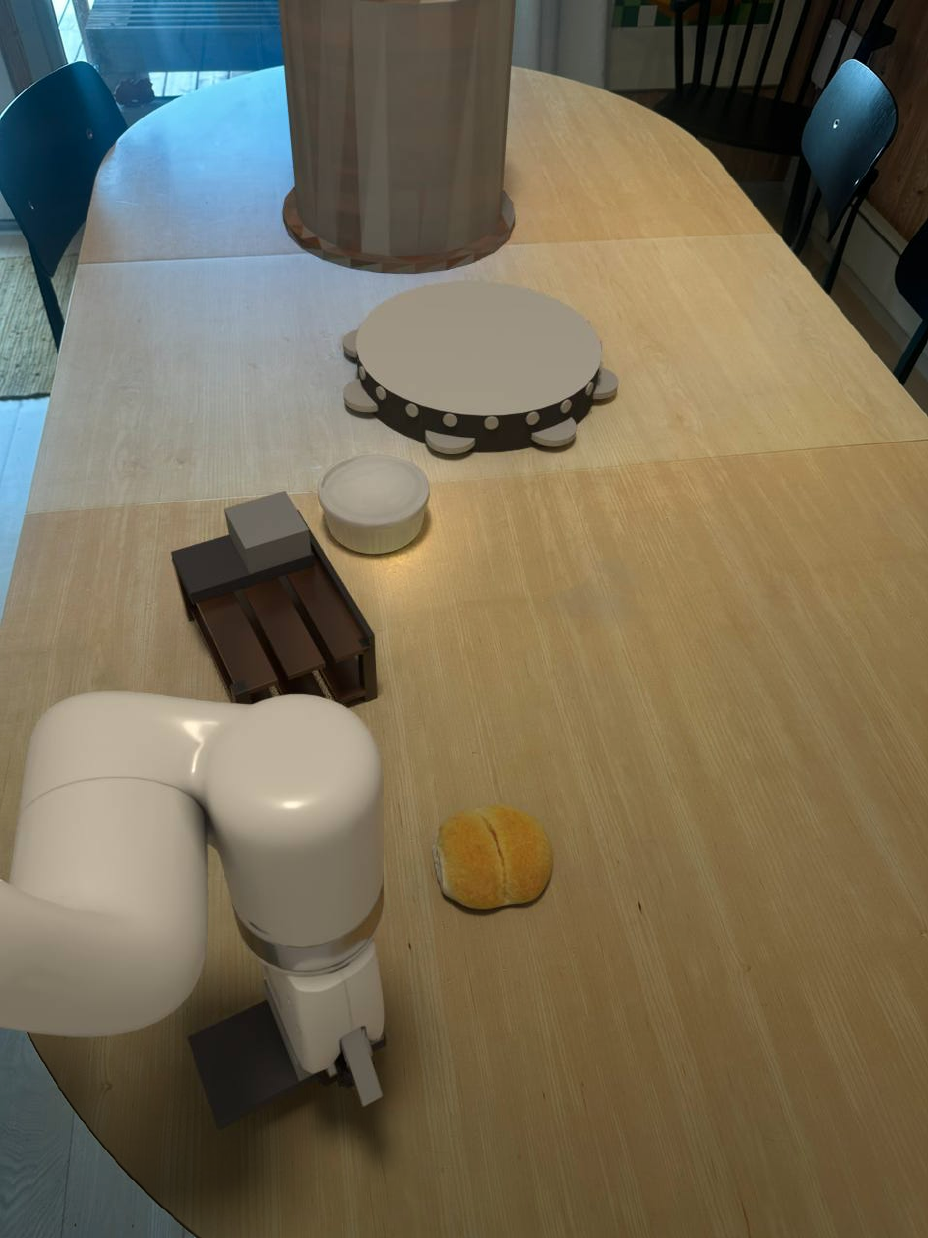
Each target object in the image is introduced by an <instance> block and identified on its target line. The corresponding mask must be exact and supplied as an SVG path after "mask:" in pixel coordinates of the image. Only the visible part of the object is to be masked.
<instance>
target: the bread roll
mask: <svg viewBox="0 0 928 1238" xmlns="http://www.w3.org/2000/svg"><path fill="white" fill-rule="evenodd" d="M432 853H433V860H434V869H435V872H436V876H437V879H438V882H439V884H440V885H439V886H440V890H441V892H442V893H443V895H444V896H446V897H447V898H449V899H451V900H453V901H455V902H457V903H458V904H460V905H462V906H464V907H467V908H470V909H476V910H492V909H495V908H500V907H504V906H508V905H519V904H520V905H521V904H525V903H526V904H527V903H529V902H532V901H533V900H536V899H537V898H538V897H539V896H540V894H541V893H542V892H543V890H544V889H545V888H546V886H547V884H548V882H549V879H550V878H551V874H552V870H553V866H554V850H553V845H552V841H551V839H550V836H549V834H548V832H547V831H546V829H545V828H544V826H543V825H542V824H541V822H540V821H539V820H538V819H536V818H535V817H534V816H532V814H530V813H528V812H527V811H524V810H522V809H520V808H517V807H514V806H510V805H507V804H499V803H498V804H496V803H495V804H488V805H484V806H479V807H475V808H472V809H466V810H461V811H458V812H456V813H454V814H453V815H451V816H450V817H448V818H447V819H445V820H444V821H443V822H442V824H440V826H439V829H438V830H437V832H436V836H435V840H434V842H433V846H432Z"/></svg>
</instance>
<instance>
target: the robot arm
mask: <svg viewBox="0 0 928 1238" xmlns="http://www.w3.org/2000/svg"><path fill="white" fill-rule="evenodd" d="M326 698H327V697H326ZM326 698H323V697H319V696H314V695H307V694H289V695H275V696H273V697H272V698H269V699H265V700H262V701H260V702H257V703H255V704H237V703H233V702H225V701H215V700H214V701H213V700H204V699H197V698H191V697H190V698H189V697H180V696H173V695H166V694H158V693H152V692H151V693H150V692H142V691H130V690H98V691H97V690H96V691H87V692H83V693H79V694H75V695H71V696H68V697H65V698H64V699H61V700H60V701H58V702H56V703H55V704H52V706H50V707H49V708H48V709H47V710H46V711H45V712H44V713H43V714H42V715H41V716H40V718H38V720H37V722H36V724H35V725H34V728H33V730H32V733H31V735H30V738H29V743H28V747H27V751H26V757H25V763H24V770H23V773H24V774H23V779H22V785H21V795H20V802H19V803H20V804H19V810H18V819H17V822H16V828H15V835H14V843H13V844H14V845H13V850H12V858H11V866H10V873H9V881H8V882H6V881H5V880H4V879H1V878H0V1028H2V1029H7V1030H13V1031H19V1032H26V1033H30V1034H38V1035H49V1036H60V1037H68V1038H69V1037H71V1038H101V1037H102V1038H103V1037H110V1036H117V1035H123V1034H127V1033H132V1032H137V1031H139V1030H142V1029H144V1028H147V1027H149V1026H151V1025H154V1024H156V1023H159V1022H161V1021H162V1020H163V1019H165V1018H167V1017H168V1016H169V1015H171V1014H172V1013H174V1012H175V1011H177V1010H178V1009H179V1008H180V1007H181V1006H182V1004H184V1002H185V1001H186V1000H187V999H188V998H189V996H190V995H191V994H192V993H193V991H194V989H195V987H196V985H197V983H198V982H199V979H200V977H201V975H202V973H203V969H204V965H205V963H206V956H207V949H208V932H209V858H208V857H209V856H208V855H209V854H208V853H209V852H208V851H209V849H208V845H209V846H211V847H212V848H213V849H214V850H216V852H217V854H218V856H219V859H220V863H221V867H222V871H223V874H224V877H225V882H226V886H227V890H228V894H229V899H230V902H231V906H232V910H233V915H234V918H235V922H236V927H237V931H238V934H239V937H240V939H241V941H242V942H243V945H244V946H245V948H246V949H247V950H248V951H249V953H250V954H251V955H252V957H254V958H255V959H256V960H257V961H258V963H259V965H260V968H261V971H262V973H263V976H264V978H265V979H266V981H267V983H268V986H269V989H270V991H271V994H272V996H273V999H274V1001H275V1004H276V1006H277V1009H278V1012H279V1014H280V1017H281V1019H282V1022H283V1024H284V1027H285V1029H286V1032H287V1034H288V1037H289V1039H290V1041H291V1044H292V1046H293V1049H294V1051H295V1053H296V1056H297V1058H298V1060H299V1062H300V1064H301V1066H302V1068H303V1069H305V1070H306V1071H308V1072H310V1073H313V1074H314V1073H317V1072H319V1079H320V1080H319V1081H320V1083H321V1086H322V1088H327V1087H329V1086H331V1085H333V1084H335V1083H337V1086H338V1087H340V1088H341V1087H345V1088H346V1089H347V1090H350V1089H352V1090H353V1094H354V1095H355V1097H356V1099H357V1101H358V1102H359V1104H360V1105H361V1107H362V1108H364V1107H366V1106H369V1105H370V1104H372V1103H374V1102H376V1101H377V1100H380V1099H381V1098H383V1097H384V1093H383V1090H382V1087H381V1084H380V1080H379V1078H378V1075H377V1071H376V1069H377V1067H376V1063H375V1061H374V1059H373V1056H374V1052H372V1048H371V1044H370V1040H372V1041H374V1040H376V1042H377V1041H378V1040H379V1039H380V1037H381V1035H382V1032H383V1031H384V1029H385V1016H386V1015H385V1001H384V1000H385V999H384V992H383V983H382V977H381V976H382V975H381V970H380V959H379V957H378V953H377V948H376V943H375V936H376V935H377V933H378V931H379V928H380V926H381V922H382V920H383V915H384V910H385V872H384V869H385V841H384V840H385V834H384V833H385V829H384V827H385V826H384V825H385V824H384V823H385V822H384V821H385V820H384V819H385V818H384V816H385V815H384V813H385V812H384V811H385V810H384V807H385V806H384V804H385V803H384V770H383V769H384V768H383V759H382V755H381V750H380V747H379V745H378V742H377V740H376V738H375V736H374V735H373V732H372V731H371V730H370V728H369V726H368V725H367V724H366V723H365V722H364V721H363V720H362V719H361V718H360V717H359V716H358V714H356V712H354V711H353V710H352V709H350V708H348V707H346V706H345V705H343V704H339V703H338V702H337V701H335V700H332V699H330V698H327V699H326Z"/></svg>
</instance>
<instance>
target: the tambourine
mask: <svg viewBox="0 0 928 1238" xmlns="http://www.w3.org/2000/svg"><path fill="white" fill-rule="evenodd" d="M342 350H343V351H344V353H346V354H347V355H348V356H350V357H352V358H354V359H356V369H357V370H356V371H357V379H354V380H352V381H350V382H349V383H347V384H346V385H345V387H344V389H343V392H342V393H343V395H342V396H343V401H344V404H345V405H346V406H347V407H348V408H350V409H351V410H354V411H357V412H360V413H372V414H373V415H374V416H375V418H376V419H378V420H379V421H380V422H382V423H383V424H384V425H386V426H387V427H388V428H390V429H392V430H393V431H395V432H397V433H398V434H400V435H402V436H403V437H407V438H409V439H412V440H414V441H416V442H419V443H423V444H425V445H426V444H427V445H428V446H429V448H431V449H432V450H434V451H436V452H439V453H442V454H447V455H455V454H462V453H466V452H468V453H502V452H510V451H511V452H512V451H518V450H523V449H527V448H531V447H532V448H533V447H535V446H536V447H537V446H539V445H542V446H546V447H560V446H564V445H568V444H570V443H571V442H572V441H574V439H575V438H576V435H577V429H578V426H577V425H579V424H580V423H581V422H582V420H583V419H585V417H586V416H587V415H588V414H589V412H590V411H591V408H592V406H593V404H594V401H595V400H603V399H608V398H611V397H612V396H614V395H615V394H616V392H617V391H618V387H619V378H618V376H617V375H616V374H615V373H614V372H612V371H611V370H609V369H607V368H604V367H603V365H604V361H602V356H603V355H602V352H603V341H602V340H600V338H599V335H598V334H597V332H596V330H595V329H594V327H593V325H592V324H591V322H590V320H587V319H586V318H585V317H584V316H583V315H582V314H581V313H579V311H577V310H576V309H574V308H573V307H571V306H570V305H568V304H567V303H565V302H564V301H562V300H560V299H557V298H555V297H553V296H551V295H548V294H546V293H543V292H540V291H537V290H534V289H531V288H529V287H524V286H520V285H515V284H511V283H505V282H497V281H487V280H455V281H454V280H453V281H443V282H436V283H431V284H426V285H422V286H418V287H415V288H414V287H413V288H411V289H408V290H406V291H403V292H400V293H398V294H395V295H394V296H391V297H390V298H388V299H385V300H384V301H383V302H381V303H380V304H378V305H377V306H376V307H375V308H373V309H372V310H371V311H370V312H369V313H368V314H367V316H365V318H364V319H363V320H362V322H361V324H359V325H358V328H357V329H353V330H351V331H348V332H347V333H346V334H345V335H344V336H343V338H342Z"/></svg>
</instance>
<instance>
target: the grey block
mask: <svg viewBox="0 0 928 1238" xmlns="http://www.w3.org/2000/svg"><path fill="white" fill-rule="evenodd" d="M297 510H298V509H297V508H296V506H295V504H294V503H293V501H292V499H291V498H290V496H289V495H288V492H287V491H286V490H283V491H280V492H276V493H273V494H269V495H266V496H263V497H258V498H256V499H253V500H249V501H245V502H242V503H239V504H234V505H232V506H228V507H224V508H223V511H224V516H225V517H224V518H225V522H226V527H227V533H228V534H225V535H222V536H219V537H216V538H215V537H214V538H212V539H209V540H205V541H203V542H199V543H196V544H193V545H189V546H186V547H183V548H179V549H176V550H172V551H171V552H170V555H171V560H172V559H173V563H174V565H175V567H176V570H177V572H178V574H179V576H180V578H181V580H182V583H183V585H184V587H185V589H186V591H187V593H188V596H189V598H190V600H191V602H192V604H193V605H194V604H197V603H200V602H203V601H206V600H210V599H213V598H216V597H219V596H222V595H225V594H228V593H231V592H234V591H237V590H240V589H244V588H247V587H250V586H253V585H256V584H259V583H262V582H265V581H268V580H271V579H275V578H278V577H281V576H284V575H287V574H290V573H293V572H296V571H299V570H302V569H305V568H309V567H312V566H315V562H314V554H313V552H312V551H311V546H310V536H309V529H308V527H307V526H306V524H305V522H306V521H305V522H304V521H303V519H302V517H303V516H302V517H301V516H300V514H299V513H298V511H297ZM173 563H172V564H173Z"/></svg>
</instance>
